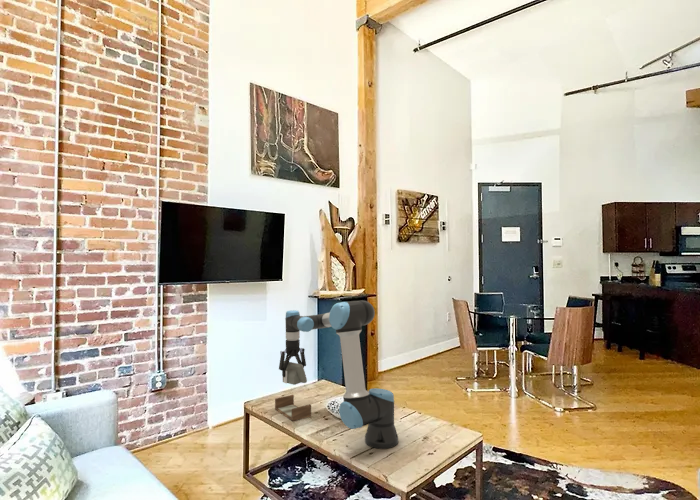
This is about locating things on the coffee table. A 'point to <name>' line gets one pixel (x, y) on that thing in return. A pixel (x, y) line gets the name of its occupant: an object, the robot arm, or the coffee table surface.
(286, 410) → the cradle
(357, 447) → the coffee table surface
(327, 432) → the coffee table surface
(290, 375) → the digital clock
